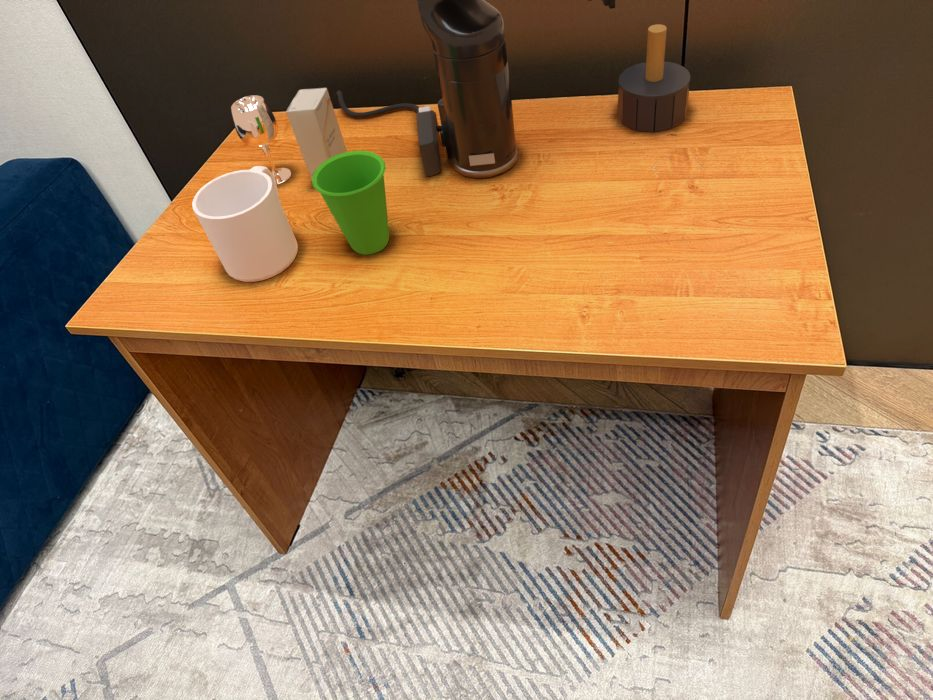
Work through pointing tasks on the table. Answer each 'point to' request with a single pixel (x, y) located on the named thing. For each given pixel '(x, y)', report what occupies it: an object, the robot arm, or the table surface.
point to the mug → (246, 224)
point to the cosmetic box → (315, 127)
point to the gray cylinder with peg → (653, 89)
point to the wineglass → (258, 129)
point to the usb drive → (429, 140)
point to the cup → (356, 198)
